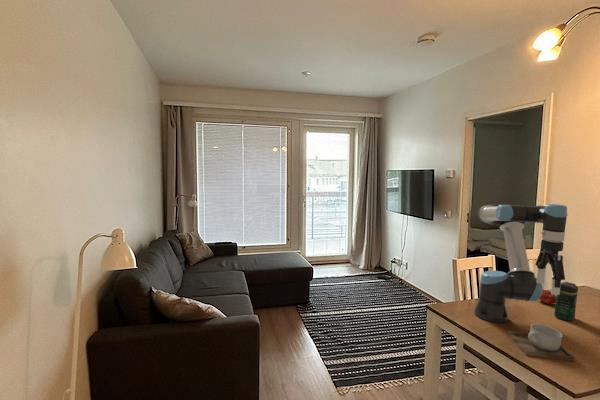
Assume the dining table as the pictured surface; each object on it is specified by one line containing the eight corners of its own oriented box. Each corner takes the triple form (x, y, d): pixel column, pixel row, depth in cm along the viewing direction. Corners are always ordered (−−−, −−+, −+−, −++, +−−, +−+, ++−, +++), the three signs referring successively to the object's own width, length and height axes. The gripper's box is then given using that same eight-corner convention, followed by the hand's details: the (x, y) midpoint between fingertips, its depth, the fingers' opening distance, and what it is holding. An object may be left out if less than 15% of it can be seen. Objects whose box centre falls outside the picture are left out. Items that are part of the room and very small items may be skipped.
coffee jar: (571, 323, 160) (575, 287, 158) (552, 317, 166) (555, 282, 165) (576, 318, 166) (580, 283, 164) (557, 312, 172) (561, 279, 170)
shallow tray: (508, 334, 146) (508, 330, 146) (551, 340, 142) (551, 336, 142) (525, 354, 129) (525, 350, 129) (574, 361, 125) (574, 357, 125)
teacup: (546, 341, 140) (547, 323, 139) (568, 355, 129) (569, 336, 128) (515, 340, 139) (517, 323, 139) (535, 355, 128) (536, 336, 128)
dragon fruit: (533, 301, 191) (557, 311, 182) (531, 296, 186) (556, 306, 177) (538, 289, 193) (563, 298, 183) (537, 284, 187) (562, 293, 178)
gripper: (529, 234, 148) (525, 277, 150) (556, 246, 124) (551, 298, 126) (548, 235, 146) (543, 279, 148) (579, 248, 122) (573, 301, 124)
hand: (547, 288), depth 137 cm, fingers open, 13 cm apart
